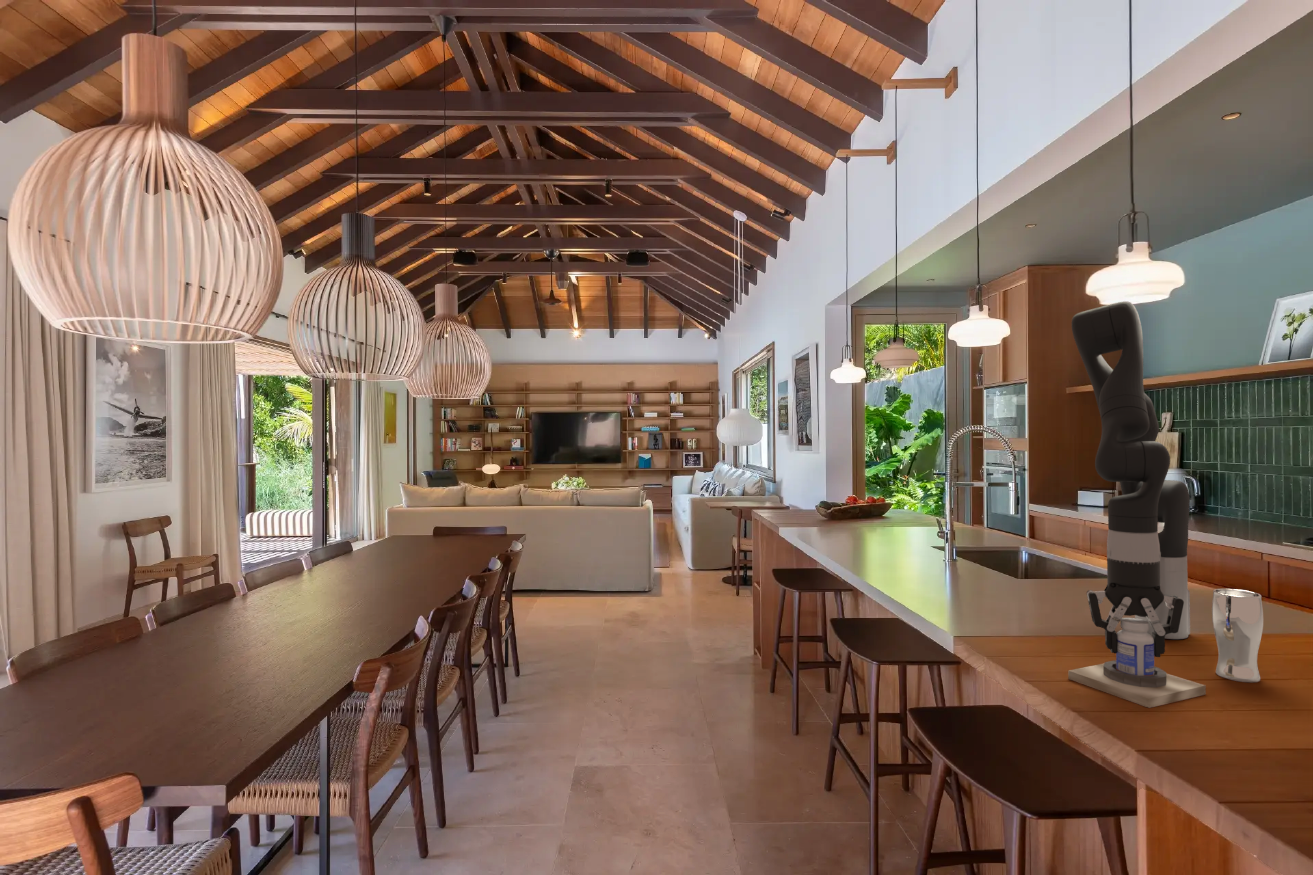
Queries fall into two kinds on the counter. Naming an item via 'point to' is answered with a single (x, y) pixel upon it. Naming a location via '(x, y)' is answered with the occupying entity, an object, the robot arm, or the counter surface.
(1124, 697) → the collar base
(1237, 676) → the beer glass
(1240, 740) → the counter surface
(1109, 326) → the robot arm
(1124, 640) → the pill bottle
